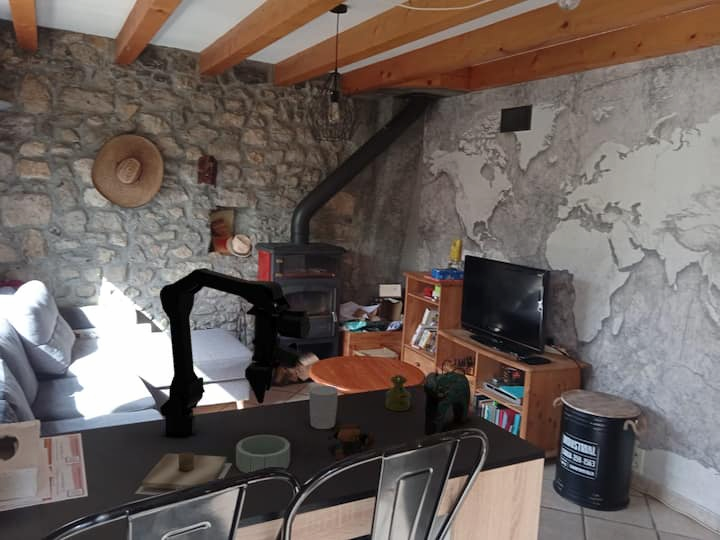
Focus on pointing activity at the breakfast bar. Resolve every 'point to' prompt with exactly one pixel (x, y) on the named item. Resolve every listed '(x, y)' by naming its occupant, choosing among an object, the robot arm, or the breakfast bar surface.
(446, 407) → the green elephant figurine
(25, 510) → the breakfast bar surface
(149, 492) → the mat
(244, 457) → the bowl
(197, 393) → the robot arm
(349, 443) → the brown piece
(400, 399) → the olive green bottle-shaped piece
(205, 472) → the lid
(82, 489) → the breakfast bar surface
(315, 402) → the white cup
